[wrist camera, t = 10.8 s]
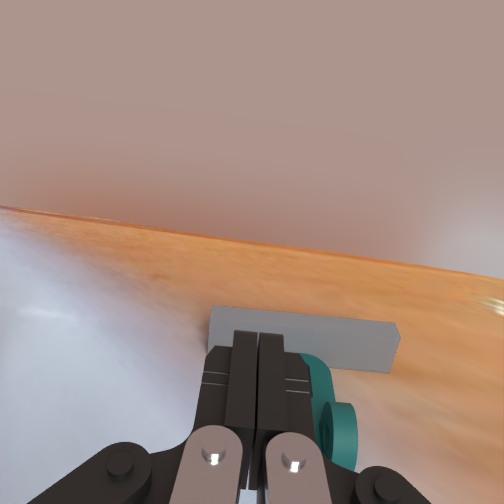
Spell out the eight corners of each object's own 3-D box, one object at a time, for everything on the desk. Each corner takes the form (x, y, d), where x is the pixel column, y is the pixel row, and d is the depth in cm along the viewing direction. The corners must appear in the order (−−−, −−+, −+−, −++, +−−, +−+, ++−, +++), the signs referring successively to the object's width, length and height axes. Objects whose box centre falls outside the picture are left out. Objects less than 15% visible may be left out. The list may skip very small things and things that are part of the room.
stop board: (207, 355, 60) (209, 319, 57) (209, 340, 63) (212, 305, 60) (389, 373, 60) (400, 337, 58) (384, 357, 63) (394, 322, 60)
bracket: (344, 499, 45) (362, 445, 41) (275, 493, 45) (286, 438, 41) (324, 368, 60) (335, 320, 57) (273, 363, 60) (281, 315, 56)
